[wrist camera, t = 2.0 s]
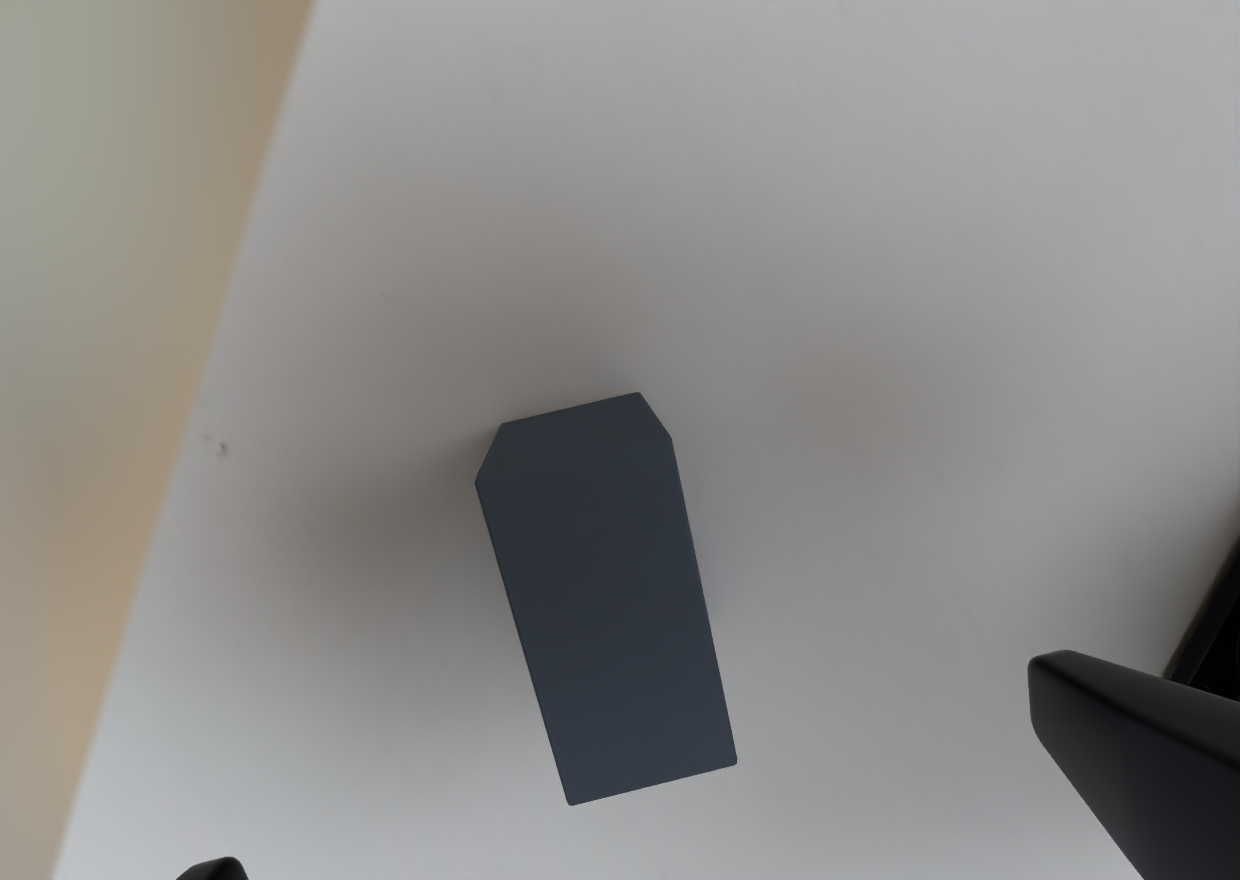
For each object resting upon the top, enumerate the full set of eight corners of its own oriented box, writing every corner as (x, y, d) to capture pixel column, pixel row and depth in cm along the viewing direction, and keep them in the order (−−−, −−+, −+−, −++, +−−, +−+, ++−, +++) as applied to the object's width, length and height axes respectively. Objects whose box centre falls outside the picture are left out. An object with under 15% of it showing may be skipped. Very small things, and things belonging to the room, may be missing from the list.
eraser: (499, 423, 13) (472, 480, 9) (640, 390, 13) (671, 433, 9) (567, 671, 15) (568, 809, 11) (693, 640, 15) (738, 766, 11)
